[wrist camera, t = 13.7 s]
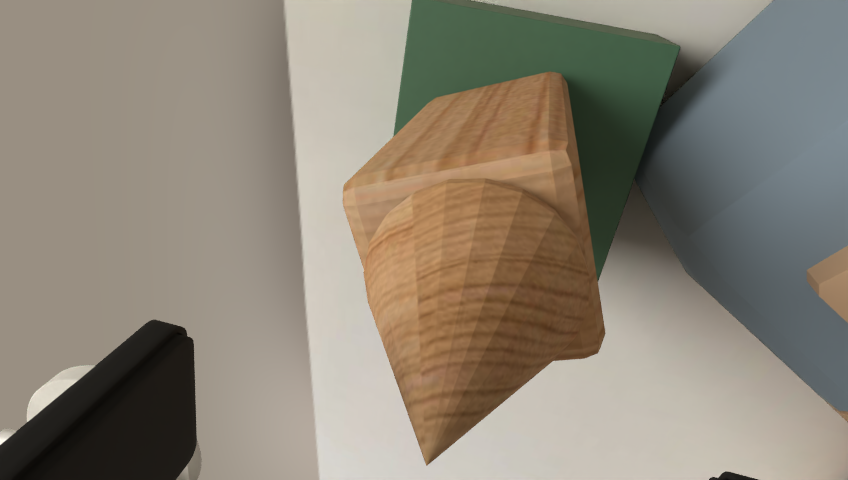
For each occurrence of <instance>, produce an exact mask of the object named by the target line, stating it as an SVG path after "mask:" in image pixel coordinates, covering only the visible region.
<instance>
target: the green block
mask: <svg viewBox="0 0 848 480" xmlns="http://www.w3.org/2000/svg"><path fill="white" fill-rule="evenodd" d="M679 50H680V46H678V45H676V44H674V43H672V42H670V41H668V40H666V39H664V38H662V37H660V36H658V35H655V34H650V33H644V32H639V31H634V30H628V29H623V28H617V27H612V26H607V25H601V24H596V23H590V22H585V21H579V20H574V19H569V18H563V17H558V16H552V15H547V14H541V13H536V12H531V11H525V10H520V9H514V8H509V7H503V6H498V5H493V4H487V3H482V2H476V1H471V0H412V4H411V11H410V19H409V26H408V33H407V41H406V48H405V55H404V63H403V70H402V77H401V85H400V92H399V99H398V107H397V114H396V122H395V129H394V136H395V135H396V134H397V133H398V132H399V131H400V130H401V129H402V128H403V127H404V126H405V125H406V124H407V123H408V122H409V121H410V120H411V119H412V118H413V117H415V116H416V115H417V114H418V113H419V112H420V111H421V110H422V109H423V108H424V107H425V106H426V105H427V104H428V103H429V102H431V101H432V100H433V99H435V98H436V97H440V96H445V95H449V94H454V93H458V92H462V91H467V90H471V89H475V88H480V87H484V86H489V85H493V84H497V83H502V82H506V81H510V80H515V79H519V78H524V77H528V76H532V75H537V74H541V73H545V72H555V73H561V74H562V76H563V77H564V79H565V81H566V82H567V86H568V92H569V98H570V105H571V111H572V118H573V124H574V130H575V137H576V143H577V150H578V156H579V163H580V169H581V176H582V183H583V189H584V196H585V202H586V209H587V216H588V222H589V229H590V235H591V242H592V249H593V255H594V262H595V268H596V275H597V282H598V280H599V277H600V274H601V272H602V269H603V266H604V263H605V260H606V257H607V255H608V252H609V249H610V246H611V243H612V240H613V238H614V235H615V232H616V229H617V226H618V223H619V220H620V218H621V215H622V212H623V209H624V206H625V203H626V201H627V198H628V195H629V192H630V189H631V186H632V184H633V181H634V178H635V175H636V172H637V169H638V166H639V164H640V161H641V158H642V155H643V152H644V149H645V147H646V144H647V141H648V138H649V135H650V132H651V130H652V127H653V124H654V121H655V118H656V115H657V112H658V110H659V107H660V104H661V101H662V98H663V95H664V93H665V90H666V87H667V84H668V81H669V78H670V76H671V73H672V70H673V67H674V64H675V61H676V58H677V56H678V53H679ZM394 136H393V137H394Z"/></svg>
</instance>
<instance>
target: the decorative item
mask: <svg viewBox="0 0 848 480" xmlns="http://www.w3.org/2000/svg"><path fill="white" fill-rule="evenodd" d="M343 206H344V209H345V212H346V215H347V219H348V222H349V225H350V228H351V231H352V234H353V237H354V240H355V243H356V246H357V249H358V252H359V256H360V259H361V262H362V265H363V268H364V278H365V285H366V291H367V298H368V303H369V306H370V309H371V311H372V314H373V317H374V320H375V323H376V325H377V328H378V331H379V334H380V337H381V339H382V342H383V345H384V348H385V351H386V353H387V356H388V359H389V362H390V365H391V367H392V370H393V373H394V376H395V379H396V381H397V384H398V387H399V390H400V393H401V395H402V398H403V401H404V404H405V407H406V409H407V412H408V415H409V418H410V421H411V423H412V426H413V429H414V432H415V435H416V438H417V440H418V443H419V446H420V449H421V452H422V454H423V457H424V460H425V463H426V466H427V465H428V464H429V463H431V462H432V461H433V460H434V459H435V458H437V457H438V456H439V455H440V454H441V453H443V452H444V451H445V450H446V449H447V448H449V447H450V446H451V445H452V444H453V443H455V442H456V441H457V440H458V439H459V438H461V437H462V436H463V435H464V434H465V433H467V432H468V431H469V430H470V429H471V428H473V427H474V426H475V425H476V424H477V423H479V422H480V421H481V420H482V419H484V418H485V417H486V416H487V415H488V414H490V413H491V412H492V411H493V410H494V409H496V408H497V407H498V406H499V405H500V404H502V403H503V402H504V401H505V400H506V399H508V398H509V397H510V396H511V395H512V394H514V393H515V392H516V391H517V390H518V389H520V388H521V387H522V386H523V385H524V384H526V383H527V382H528V381H529V380H530V379H532V378H533V377H534V376H535V375H536V374H538V373H539V372H540V371H541V370H542V369H544V368H545V367H546V366H547V365H548V364H550V363H551V362H552V361H557V360H569V359H582V358H587V357H589V356H592V355H594V354H596V353H598V352H599V349H600V347H601V344H602V341H603V338H604V336H605V328H604V321H603V315H602V308H601V302H600V295H599V288H598V282H597V275H596V268H595V262H594V255H593V249H592V242H591V235H590V229H589V222H588V216H587V209H586V202H585V196H584V189H583V183H582V176H581V169H580V163H579V156H578V150H577V143H576V137H575V130H574V124H573V118H572V111H571V105H570V98H569V92H568V86H567V82H566V81H565V79H564V77H563V76H562V74H561V73H555V72H545V73H541V74H537V75H532V76H528V77H524V78H519V79H515V80H510V81H506V82H502V83H497V84H493V85H489V86H484V87H480V88H475V89H471V90H467V91H462V92H458V93H454V94H449V95H445V96H440V97H436V98H435V99H433V100H432V101H431V102H429V103H428V104H427V105H426V106H425V107H424V108H423V109H422V110H421V111H420V112H419V113H418V114H417V115H416V116H415V117H413V118H412V119H411V120H410V121H409V122H408V123H407V124H406V125H405V126H404V127H403V128H402V129H401V130H400V131H399V132H398V133H397V134H396V135H395V136H394V137H393V138H392V139H391V140H390V141H389V142H388V143H387V144H386V145H385V146H384V147H383V148H381V149H380V150H379V151H378V152H377V153H376V154H375V155H374V156H373V157H372V158H371V159H370V160H369V161H368V162H367V163H366V164H365V165H364V166H363V167H362V168H361V169H360V170H359V171H358V172H357V173H356V174H355V175H354V176H353V177H352V178H351V179H349V180H348V181H347V182H346V183H345V184H344V189H343Z"/></svg>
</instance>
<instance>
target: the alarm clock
mask: <svg viewBox="0 0 848 480" xmlns="http://www.w3.org/2000/svg"><path fill="white" fill-rule="evenodd" d="M634 179H635V181H636V183H637V185H638V186H639V188H640V190H641V192H642V194H643V196H644V197H645V199H646V201H647V203H648V205H649V207H650V208H651V210H652V212H653V214H654V216H655V218H656V219H657V221H658V223H659V225H660V227H661V229H662V230H663V232H664V234H665V236H666V238H667V240H668V241H669V243H670V245H671V247H672V249H673V251H674V252H675V254H676V256H677V257H678V259H679V261H680V262H681V264H682V266H683V267H684V269H685V271H686V272H687V273H688V274H689V275H690V276H691V277H692V278H693V279H694V280H695V281H696V282H697V283H699V284H700V285H701V286H702V287H703V288H704V289H705V290H706V291H707V292H708V293H709V294H710V295H711V296H713V297H714V298H715V299H716V300H717V301H718V302H719V303H720V304H721V305H722V306H723V307H724V308H725V309H727V310H728V311H729V312H730V313H731V314H732V315H733V316H734V317H735V318H736V319H737V320H738V321H739V322H741V323H742V324H743V325H744V326H745V327H746V328H747V329H748V330H749V331H750V332H751V333H752V334H754V335H755V336H756V337H757V338H758V339H759V340H760V341H761V342H762V343H763V344H764V345H765V346H766V347H768V348H769V349H770V350H771V351H772V352H773V353H774V354H775V355H776V356H777V357H778V358H779V359H780V360H782V361H783V362H784V363H785V364H786V365H787V366H788V367H789V368H790V369H791V370H792V371H793V372H794V373H796V374H797V375H798V376H799V377H800V378H801V379H802V380H803V381H804V382H805V383H806V384H807V385H809V386H810V387H811V388H812V389H813V390H814V391H815V392H816V393H817V394H818V395H819V396H820V397H822V398H823V399H824V400H825V401H826V402H827V403H828V404H829V405H830V406H831V407H832V408H833V409H834V410H835V411H837V412H838V413H839V414H840V415H841V416H842V417H843V418H844V419H845V420H846V421H847V422H848V0H773V1H772V2H771V3H770V4H769V5H768V6H767V7H766V8H765V9H764V10H763V11H762V12H761V13H760V14H758V15H757V16H756V17H755V18H754V19H753V20H752V21H751V22H750V23H749V24H748V25H747V26H746V27H745V28H744V29H743V30H741V31H740V32H739V33H738V34H737V35H736V36H735V37H734V38H733V39H732V40H731V41H730V42H729V43H728V44H727V45H725V46H724V47H723V48H722V49H721V50H720V51H719V52H718V53H717V54H716V55H715V56H714V57H713V58H712V59H711V60H709V61H708V62H707V63H706V64H705V65H704V66H703V67H702V68H701V69H700V70H699V71H698V72H697V73H696V74H695V75H694V76H692V77H691V78H690V79H689V80H688V81H687V82H686V83H685V84H684V85H683V86H682V87H681V88H680V89H679V90H678V91H676V92H675V93H674V94H673V95H672V96H671V97H670V98H669V99H668V100H667V101H666V102H665V103H664V104H663V105H662V106H661V107H659V110H658V112H657V115H656V118H655V121H654V124H653V127H652V130H651V132H650V135H649V138H648V141H647V144H646V147H645V149H644V152H643V155H642V158H641V161H640V164H639V166H638V169H637V172H636V175H635V178H634Z"/></svg>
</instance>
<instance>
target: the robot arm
mask: <svg viewBox="0 0 848 480" xmlns="http://www.w3.org/2000/svg"><path fill="white" fill-rule="evenodd" d="M194 373H195V372H194V344H193V340H192V338H190V337H187V332H186V330H185V328H183V327H181V326H177V325H173V324H169V323H165V322H161V321H157V320H151V321H149V322H148V323H146V324H145V325H144V326H142V327H141V328H140V329H139V330H138V331H136V332H135V333H134V334H133V335H132V336H130V337H129V338H128V339H127V340H126V341H125V342H123V343H122V344H121V345H120V346H119V347H117V348H116V349H115V350H114V351H113V352H112V353H110V354H109V355H108V356H107V357H106V358H104V359H103V360H102V361H101V362H99V363H98V364H97V365H96V366H95V367H93V368H92V369H91V370H90V371H89V372H88V373H86V374H85V375H84V376H83V377H82V378H80V379H79V380H78V381H77V382H76V383H74V384H73V385H72V386H70V387H69V388H68V389H67V390H65V391H64V392H63V393H62V394H61V395H59V396H58V397H57V398H56V399H55V400H53V401H52V402H51V403H50V404H49V405H47V406H46V407H45V408H44V409H43V410H41V411H40V412H39V413H38V414H37V415H35V416H34V417H33V418H32V419H31V420H30V421H28V422H27V423H26V424H25V425H24V426H22V427H21V428H20V429H19V430H18V431H14V430H11V429H7V428H6V429H3V430H2V431H1V432H0V480H176V479H177V477H178V476H179V475H180V473H181V472H182V471H183V469H184V468H185V467H186V465H187V464H188V463H189V461H190V460H191V458H192V456H193V454H194V451H195V448H196V442H197V438H196V405H195V374H194ZM709 480H758V479H754V478H750V477H747V476H743V475H739V474H735V473H731V472H724V473H722V474H721V475H720V477H719V478H715V477H712V478H710V479H709Z"/></svg>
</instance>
